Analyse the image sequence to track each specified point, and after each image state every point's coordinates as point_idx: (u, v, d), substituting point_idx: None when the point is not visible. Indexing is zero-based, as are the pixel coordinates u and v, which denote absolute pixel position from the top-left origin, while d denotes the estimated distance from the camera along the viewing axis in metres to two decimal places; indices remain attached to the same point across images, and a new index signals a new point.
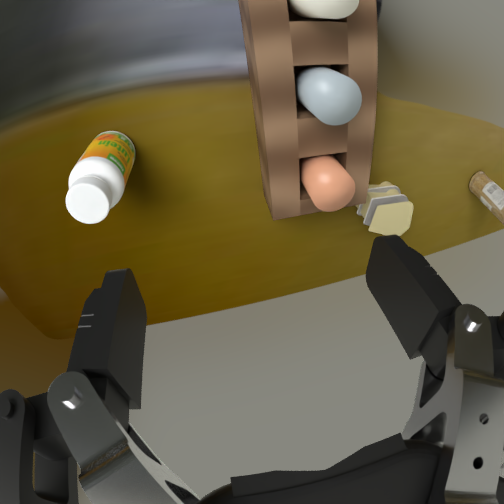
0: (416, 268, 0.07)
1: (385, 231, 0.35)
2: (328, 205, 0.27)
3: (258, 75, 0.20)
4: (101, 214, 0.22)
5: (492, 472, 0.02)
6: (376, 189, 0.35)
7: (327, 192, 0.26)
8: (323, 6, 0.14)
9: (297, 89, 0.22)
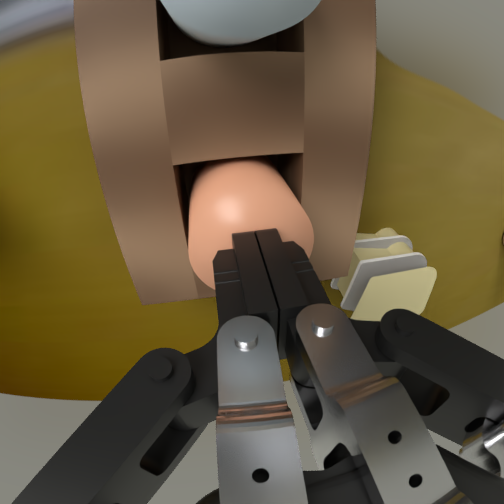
0: (277, 262, 0.08)
1: None
2: None
3: None
4: None
5: (439, 477, 0.03)
6: (370, 242, 0.19)
7: None
8: None
9: None
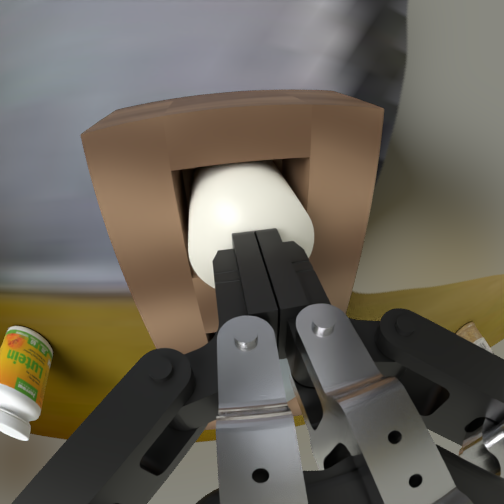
0: (277, 262, 0.08)
1: None
2: None
3: (155, 343, 0.15)
4: (23, 438, 0.14)
5: (439, 477, 0.03)
6: None
7: None
8: None
9: None
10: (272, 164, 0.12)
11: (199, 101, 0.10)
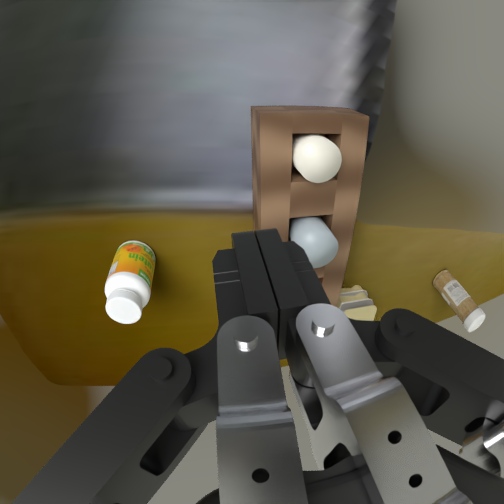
0: (277, 262, 0.08)
1: None
2: None
3: (261, 224, 0.31)
4: (134, 319, 0.29)
5: (439, 476, 0.03)
6: (347, 293, 0.44)
7: None
8: (312, 173, 0.27)
9: (290, 234, 0.32)
10: None
11: (297, 109, 0.26)
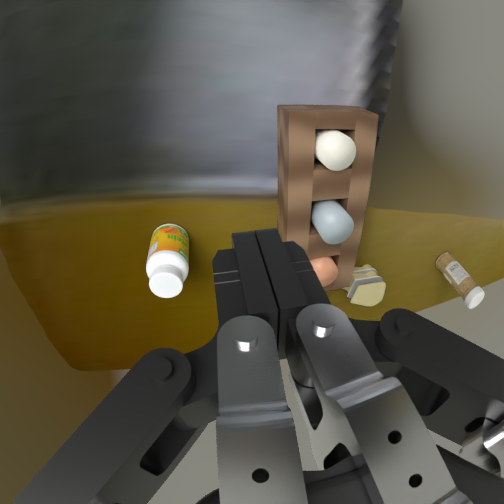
0: (277, 262, 0.08)
1: (363, 302, 0.49)
2: None
3: (288, 207, 0.35)
4: (175, 293, 0.34)
5: (439, 477, 0.03)
6: (359, 271, 0.48)
7: (319, 275, 0.41)
8: (332, 163, 0.31)
9: (311, 215, 0.37)
10: None
11: (318, 108, 0.30)
